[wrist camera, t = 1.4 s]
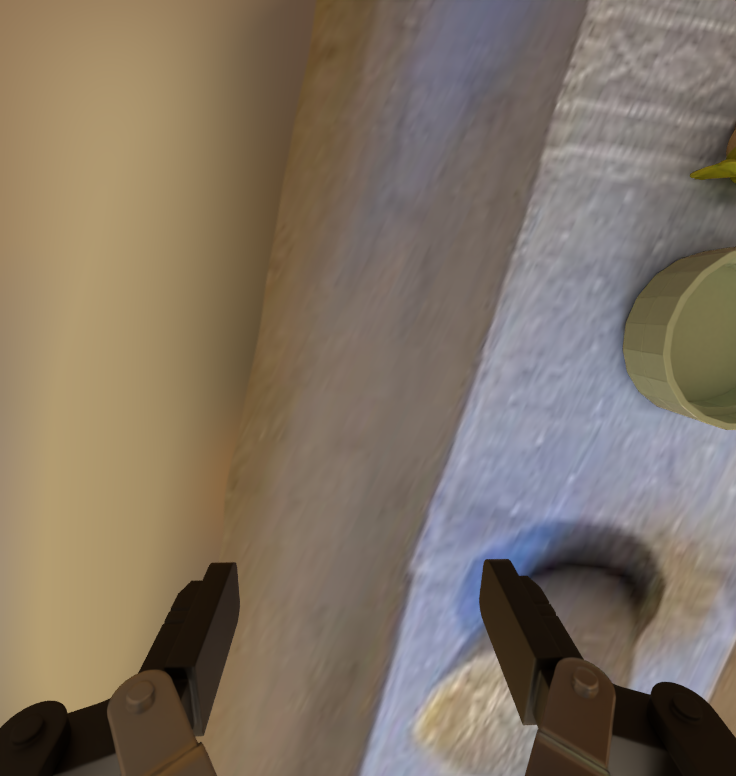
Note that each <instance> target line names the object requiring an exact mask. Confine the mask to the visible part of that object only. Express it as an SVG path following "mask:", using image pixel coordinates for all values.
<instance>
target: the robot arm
mask: <svg viewBox="0 0 736 776" xmlns="http://www.w3.org/2000/svg"><path fill="white" fill-rule="evenodd" d="M479 604H480V612H481V616H482V619H483V622H484V625H485V627H486V630H487V632H488V635H489V638H490V640H491V643H492V645H493V648H494V651H495V653H496V656H497V658H498V661H499V664H500V666H501V669H502V672H503V674H504V677H505V679H506V682H507V685H508V687H509V690H510V692H511V695H512V698H513V700H514V703H515V705H516V708H517V711H518V713H519V716H520V719H521V721H522V724H523V725H537V726H538V728H539V729H538V730H537V733H536V737H535V740H534V744H533V748H532V751H531V755H530V759H529V762H528V766H527V770H526V773H525V776H736V738H735V736H734V735H733V734H732V732H731V731H730V730H729V729H728V727H727V726H726V725H725V723H724V722H723V721H722V719H721V718H720V717H719V715H718V714H717V713H716V712H715V710H714V709H713V708H712V707H711V706H710V705H709V704H708V703H707V702H706V701H705V700H704V699H703V698H702V697H701V696H699V695H698V694H696V693H695V692H693V691H692V690H690V689H688V688H686V687H684V686H682V685H679V684H676V683H672V682H660V683H657V684H656V685H655V686H654V687H653V688H652V691H651V695H649V694H645V693H642V692H638V691H634V690H631V689H627V688H623V687H620V686H617V685H615V684H613V683H612V682H611V680H610V679H609V678H608V677H607V675H606V674H605V673H604V672H603V671H602V670H600V669H599V668H598V667H597V666H595V665H594V664H592V663H590V662H588V661H586V660H584V659H583V658H582V656H581V654H580V653H579V651H578V649H577V648H576V646H575V644H574V643H573V641H572V639H571V638H570V636H569V634H568V633H567V631H566V629H565V628H564V626H563V624H562V623H561V621H560V619H559V617H558V616H556V612H555V611H554V609H553V607H552V606H551V604H549V601H548V599H547V597H546V596H545V594H544V592H543V591H542V589H541V588H540V587H539V586H538V585H537V584H536V583H535V582H534V581H533V580H531V579H530V578H529V577H528V576H519V575H518V573H517V572H516V570H515V568H514V566H513V564H512V563H511V561H510V560H509V559H486V560H485V561H484V565H483V572H482V580H481V588H480V597H479ZM239 609H240V599H239V586H238V574H237V565H236V563H235V562H232V563H211V564H210V565H209V567H208V569H207V572H206V574H205V576H204V579H203V581H191V582H190V583H189V584H188V585H187V586H186V587H185V588H184V589H183V590H182V591H181V592H180V593H178V595H177V598H176V599H175V601H174V603H173V605H172V607H171V611H170V612H169V613H168V615H167V617H166V619H165V623H164V624H163V625H162V627H161V629H160V631H159V633H158V635H157V637H156V639H155V641H154V643H153V645H152V647H151V649H150V651H149V653H148V655H147V657H146V659H145V661H144V663H143V665H142V667H141V669H140V671H139V672H138V674H136V675H134V676H133V677H131V678H129V679H128V680H126V681H125V682H124V683H123V684H122V685H121V686H119V688H118V689H117V690H116V691H115V693H114V694H113V695H112V697H111V698H110V699H108V700H106V701H103V702H101V703H98V704H95V705H92V706H89V707H86V708H83V709H80V710H77V711H74V712H71V713H67V710H66V708H65V706H64V705H63V704H62V703H60V702H57V701H44V702H40V703H36V704H34V705H31V706H29V707H27V708H25V709H23V710H22V711H21V712H19V713H17V714H16V715H14V716H13V717H12V718H10V719H9V720H8V721H7V722H6V723H5V724H4V725H3V726H2V727H1V728H0V776H217V775H216V772H215V770H214V768H213V765H212V763H211V760H210V758H209V756H208V753H207V751H206V749H205V747H204V745H203V744H202V742H200V743H198V742H197V740H196V738H195V736H204V733H205V730H206V726H207V723H208V720H209V716H210V713H211V710H212V706H213V703H214V699H215V696H216V693H217V689H218V686H219V683H220V679H221V676H222V673H223V669H224V666H225V663H226V659H227V656H228V653H229V649H230V646H231V643H232V639H233V636H234V632H235V629H236V626H237V622H238V617H239Z"/></svg>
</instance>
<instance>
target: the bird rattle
mask: <svg viewBox="0 0 736 776" xmlns="http://www.w3.org/2000/svg"><path fill="white" fill-rule="evenodd" d="M690 177H691V178H694V179H699V180H705V179H712V178H729V177H730V179H731V180H732V181H733V182H734V183H736V128H735V130H734V132H733V134H732V135H731V137H730V140H729V142H728V145H727V150H726V160H724V161H721V162H720V163H718V164H715V165H712V166H707V167H705V168H702V169H700V170H697V171H694V172H692V173H691V174H690Z"/></svg>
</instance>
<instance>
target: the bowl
mask: <svg viewBox="0 0 736 776" xmlns="http://www.w3.org/2000/svg"><path fill="white" fill-rule="evenodd" d="M626 322H627V323H626V326H625V334H624V342H623V353H624V358H625V364H626V369H627V373H628V374H629V376H630V378H631V379H632V381H633V383H634V384H635V386H636V388H637V389H638V391H639V392H640V393H641V394H642V395H643V396H645V397H646V398H647V399H648V400H650V401H651V402H652V403H653V404H655V405H656V406H658V407H660V408H663V409H666V410H669V411H672V412H675V413H678V414H681V415H684V416H687V417H689V418H692V419H695V420H698V421H701V422H704V423H707V424H710V425H713V426H716V427H719V428H722V429H725V430H736V246H735V247H729V248H722V249H716V250H709V251H703V252H700V253H697V254H694V255H691V256H688V257H685V258H682V259H679V260H677V261H676V262H674V263H673V264H671V265H670V266H668V267H667V268H665V269H664V270H662V271H661V272H659V273H658V274H657V275H655V276H654V277H653V279H652V280H651V281H650V282H649V283H648V285H647V286H646V287H645V288H644V289H643V291H642V292H641V293H640V294H639V295H638V298H636V301H635V303H634V305H633V307H632V310H631V312H630V314H629V316H628V319H627V321H626Z"/></svg>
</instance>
